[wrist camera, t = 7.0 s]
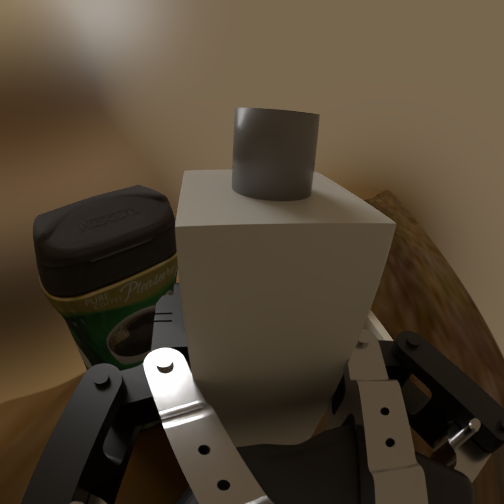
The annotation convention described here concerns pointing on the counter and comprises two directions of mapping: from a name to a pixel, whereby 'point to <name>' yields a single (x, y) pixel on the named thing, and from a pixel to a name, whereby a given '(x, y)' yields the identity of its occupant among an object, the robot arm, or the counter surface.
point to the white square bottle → (274, 278)
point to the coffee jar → (109, 271)
